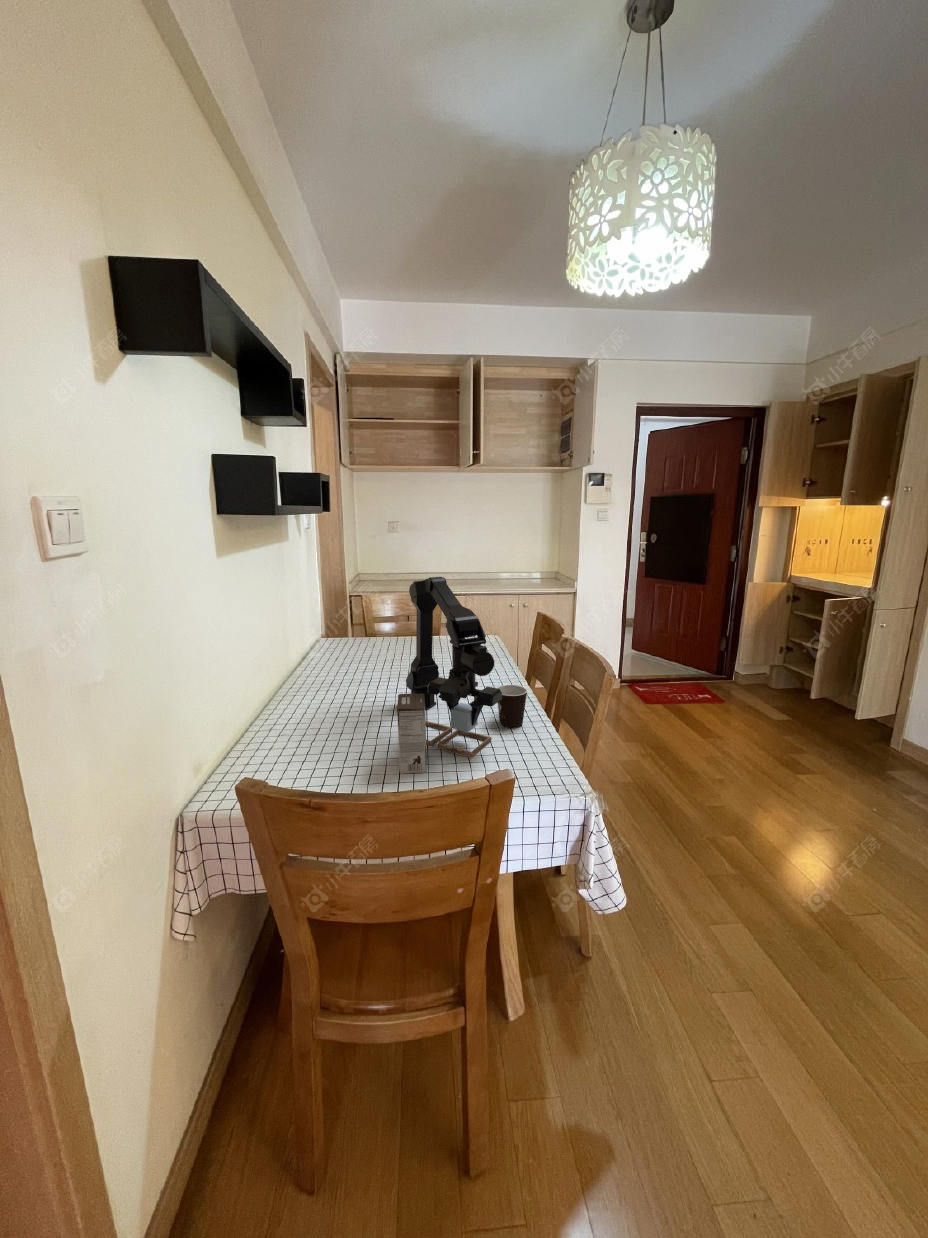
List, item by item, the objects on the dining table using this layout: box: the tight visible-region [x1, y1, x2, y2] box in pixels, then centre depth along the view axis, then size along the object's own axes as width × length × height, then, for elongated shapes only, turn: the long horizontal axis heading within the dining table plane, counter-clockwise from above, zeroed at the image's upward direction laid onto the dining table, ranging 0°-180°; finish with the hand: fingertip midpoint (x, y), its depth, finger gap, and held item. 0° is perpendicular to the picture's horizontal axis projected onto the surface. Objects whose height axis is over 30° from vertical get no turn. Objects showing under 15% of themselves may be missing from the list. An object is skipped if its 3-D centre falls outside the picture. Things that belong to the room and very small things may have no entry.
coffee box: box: [396, 693, 427, 774], centre depth 113 cm, size 9×6×16 cm
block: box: [450, 702, 479, 732], centre depth 123 cm, size 5×5×5 cm
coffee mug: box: [497, 684, 528, 729], centre depth 137 cm, size 12×9×10 cm
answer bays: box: [426, 720, 492, 759], centre depth 127 cm, size 22×11×2 cm, turn 60°
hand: (464, 722), depth 123 cm, fingers closed on block, 5 cm apart
